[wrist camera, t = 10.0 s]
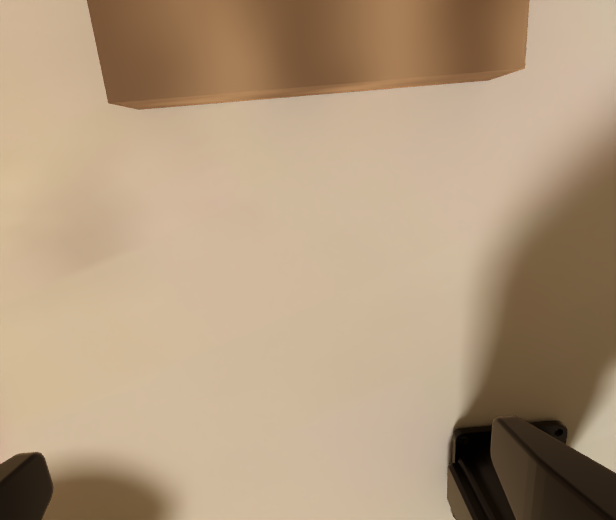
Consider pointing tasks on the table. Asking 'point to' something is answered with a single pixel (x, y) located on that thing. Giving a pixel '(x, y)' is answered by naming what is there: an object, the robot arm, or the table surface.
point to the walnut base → (298, 47)
